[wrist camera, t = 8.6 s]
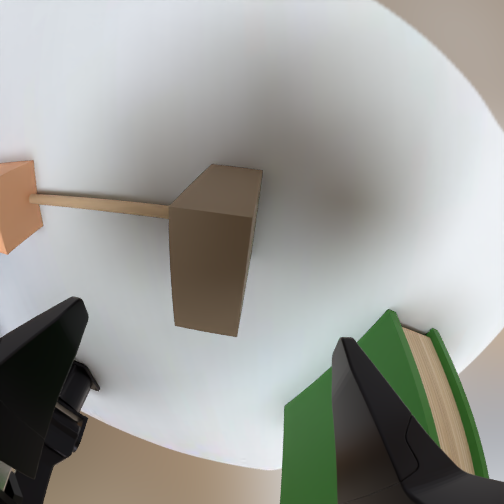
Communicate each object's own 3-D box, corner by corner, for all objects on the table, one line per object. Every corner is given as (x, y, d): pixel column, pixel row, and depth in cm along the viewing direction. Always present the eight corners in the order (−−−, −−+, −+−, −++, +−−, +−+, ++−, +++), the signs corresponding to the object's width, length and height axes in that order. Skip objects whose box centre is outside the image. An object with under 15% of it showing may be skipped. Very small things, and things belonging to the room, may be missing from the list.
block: (250, 258, 18) (236, 337, 12) (9, 220, 19) (-36, 255, 13) (262, 170, 15) (252, 217, 9) (0, 163, 16) (-53, 191, 10)
